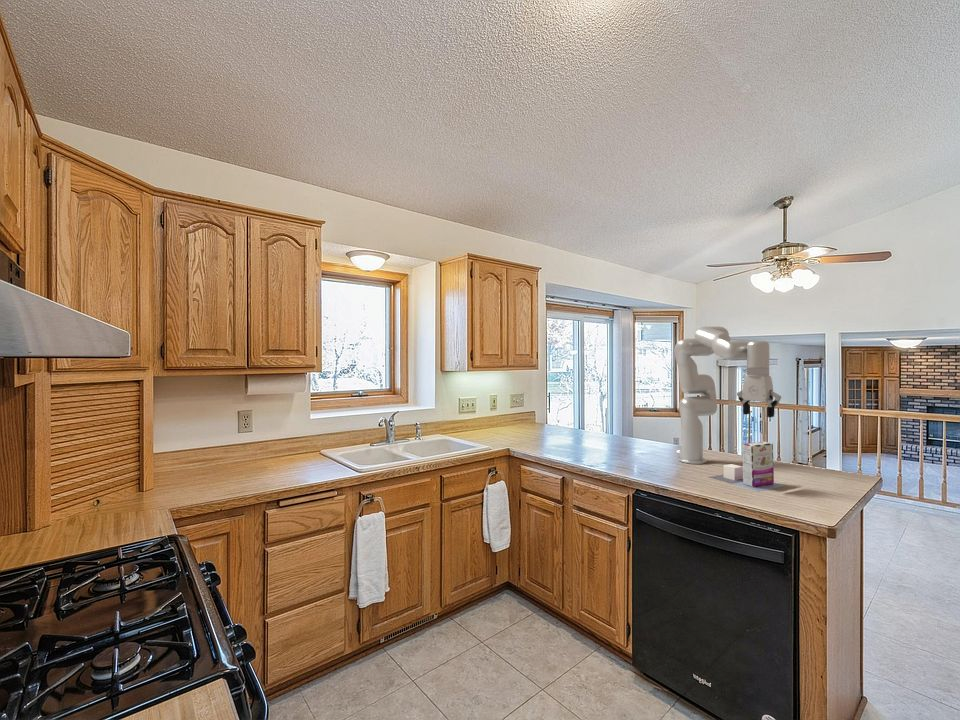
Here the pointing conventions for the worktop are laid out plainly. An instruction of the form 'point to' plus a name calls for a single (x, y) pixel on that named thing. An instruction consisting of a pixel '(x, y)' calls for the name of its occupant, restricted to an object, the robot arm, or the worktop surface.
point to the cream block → (733, 472)
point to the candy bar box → (757, 464)
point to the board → (740, 483)
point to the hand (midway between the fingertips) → (758, 415)
